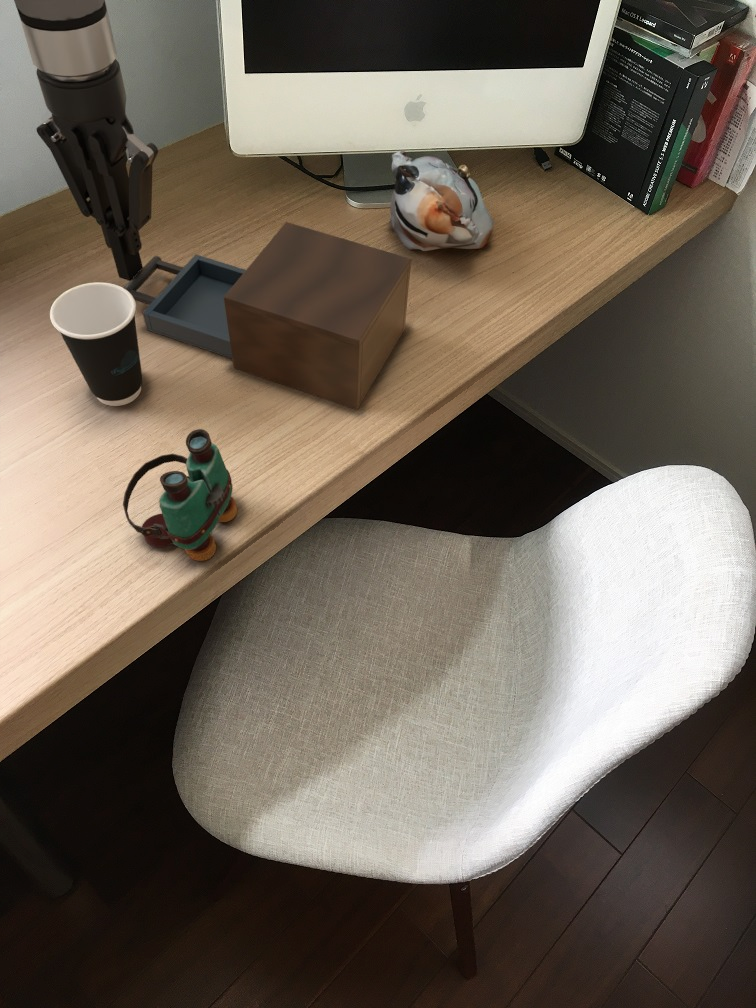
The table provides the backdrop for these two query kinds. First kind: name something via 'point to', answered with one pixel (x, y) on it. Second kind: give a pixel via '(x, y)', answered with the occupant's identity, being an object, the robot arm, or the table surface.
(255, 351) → the drawer unit
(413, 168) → the lucky cat figurine
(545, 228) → the table surface
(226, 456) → the table surface
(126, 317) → the dixie cup
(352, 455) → the table surface
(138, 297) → the drawer
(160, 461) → the binoculars
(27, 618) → the table surface
